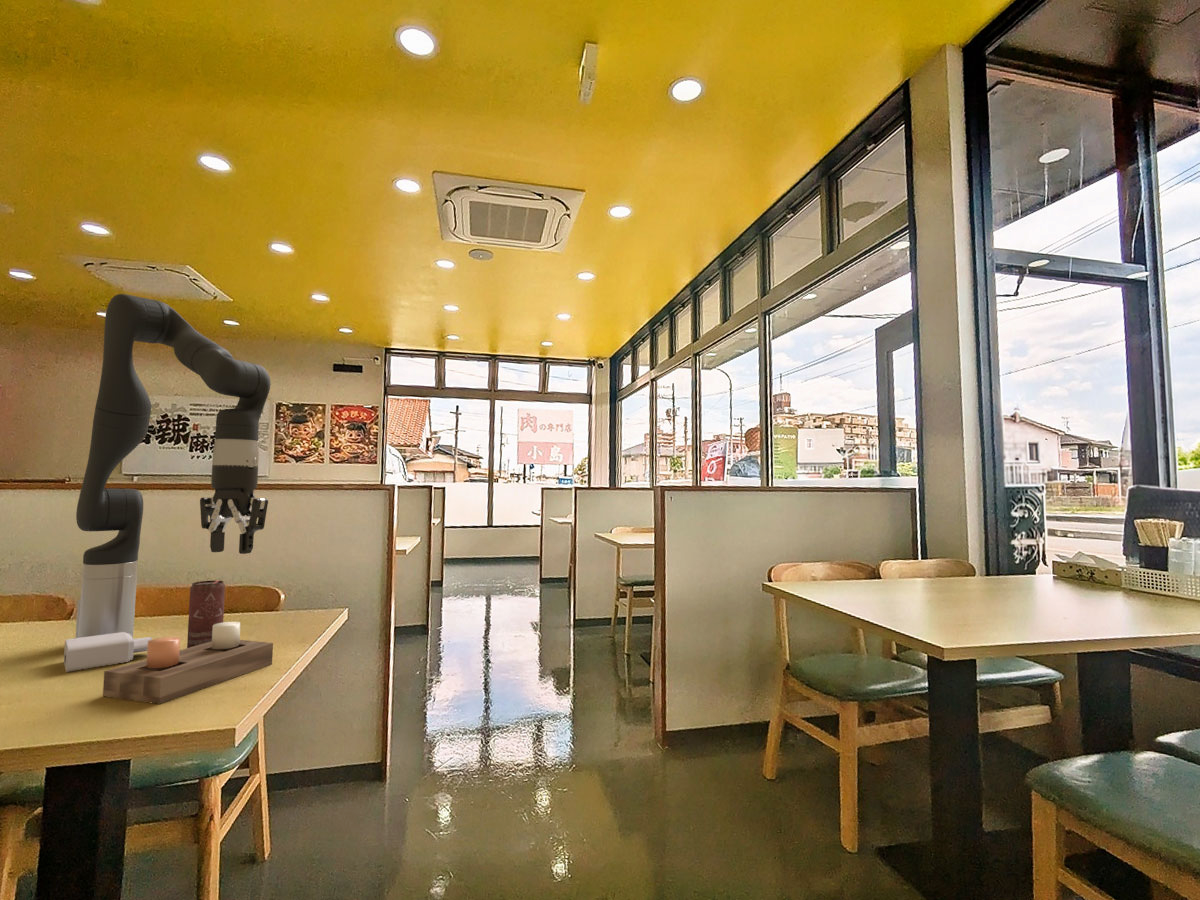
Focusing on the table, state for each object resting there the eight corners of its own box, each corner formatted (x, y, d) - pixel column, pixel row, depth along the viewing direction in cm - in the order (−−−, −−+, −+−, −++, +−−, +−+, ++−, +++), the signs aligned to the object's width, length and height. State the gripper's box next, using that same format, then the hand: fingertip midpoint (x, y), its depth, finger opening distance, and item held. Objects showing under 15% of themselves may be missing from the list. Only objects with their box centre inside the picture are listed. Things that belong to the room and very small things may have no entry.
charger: (167, 658, 118) (65, 674, 107) (159, 648, 124) (63, 663, 114) (168, 633, 118) (67, 647, 107) (160, 625, 124) (64, 638, 114)
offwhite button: (205, 648, 109) (206, 626, 109) (226, 642, 113) (227, 621, 113) (224, 650, 108) (225, 627, 108) (244, 643, 112) (245, 622, 112)
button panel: (102, 696, 95) (104, 671, 96) (222, 658, 117) (223, 638, 117) (159, 704, 92) (160, 678, 92) (272, 664, 113) (273, 642, 114)
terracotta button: (139, 666, 97) (141, 642, 98) (165, 659, 102) (166, 635, 102) (160, 669, 96) (161, 644, 96) (185, 661, 100) (186, 637, 101)
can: (229, 646, 126) (233, 579, 127) (207, 654, 119) (210, 584, 120) (203, 645, 126) (206, 579, 127) (179, 653, 120) (183, 583, 121)
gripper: (187, 463, 111) (183, 553, 110) (249, 463, 107) (245, 556, 106) (222, 464, 118) (218, 549, 117) (282, 464, 115) (278, 552, 113)
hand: (231, 552), depth 112 cm, fingers open, 6 cm apart
